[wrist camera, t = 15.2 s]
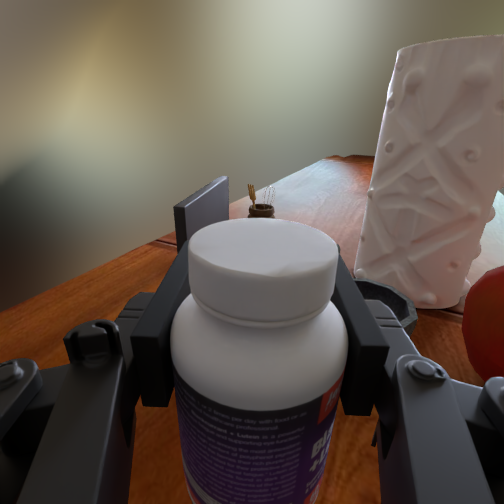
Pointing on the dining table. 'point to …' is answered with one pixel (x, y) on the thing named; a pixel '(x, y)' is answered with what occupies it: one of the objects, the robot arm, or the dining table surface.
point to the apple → (485, 324)
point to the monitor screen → (201, 210)
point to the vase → (435, 169)
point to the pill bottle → (258, 362)
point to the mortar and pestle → (389, 301)
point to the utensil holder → (260, 206)
